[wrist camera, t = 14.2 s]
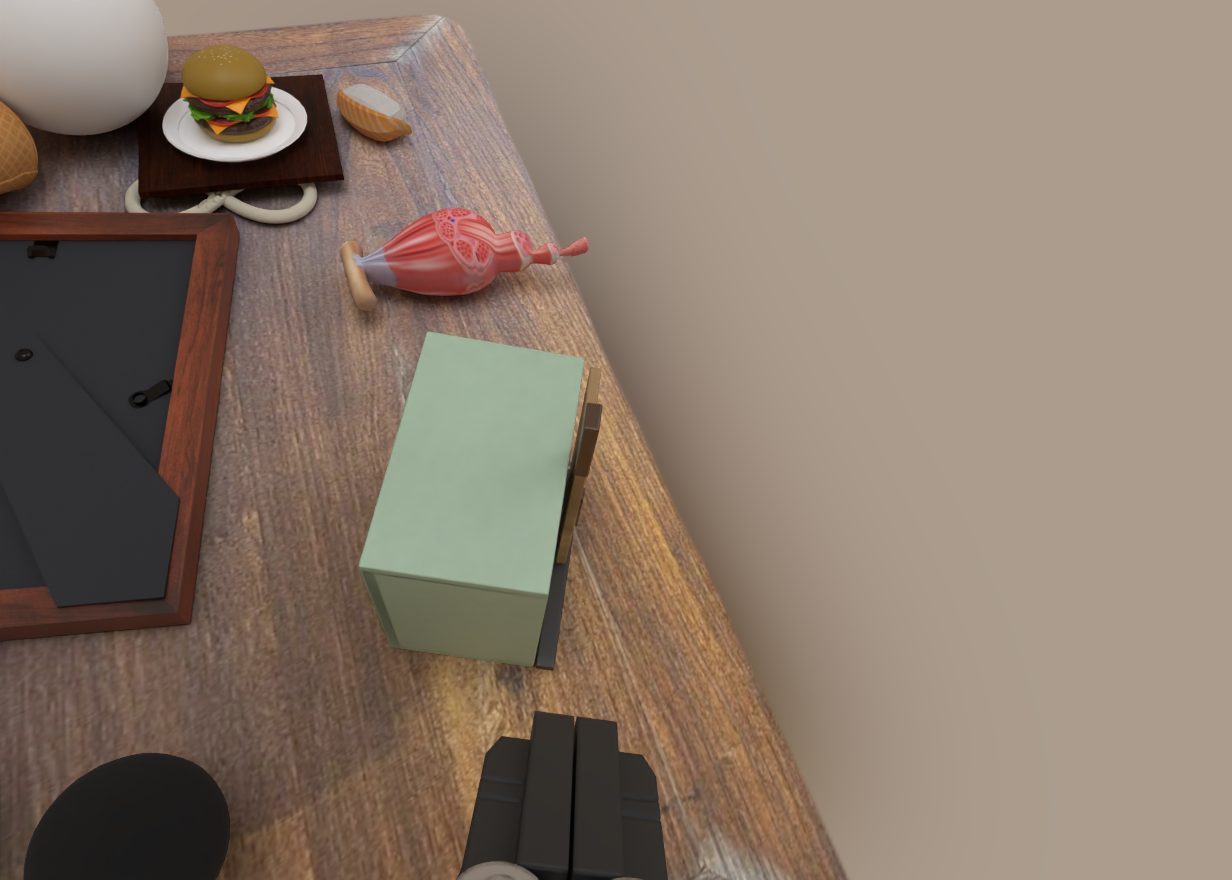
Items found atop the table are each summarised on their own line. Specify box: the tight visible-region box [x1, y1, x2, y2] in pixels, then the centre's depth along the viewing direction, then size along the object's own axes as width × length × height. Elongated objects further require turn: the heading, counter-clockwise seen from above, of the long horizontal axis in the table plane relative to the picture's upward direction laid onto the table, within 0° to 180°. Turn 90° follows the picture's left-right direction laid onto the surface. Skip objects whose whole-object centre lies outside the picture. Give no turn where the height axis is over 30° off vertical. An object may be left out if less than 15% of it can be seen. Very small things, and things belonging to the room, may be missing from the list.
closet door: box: [556, 367, 602, 564], centre depth 35 cm, size 1×6×14 cm, turn 174°
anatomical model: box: [340, 208, 589, 311], centre depth 47 cm, size 15×5×6 cm
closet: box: [358, 331, 585, 670], centre depth 36 cm, size 8×11×11 cm
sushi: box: [337, 84, 412, 141], centre depth 54 cm, size 3×6×3 cm
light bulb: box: [24, 753, 230, 880], centre depth 28 cm, size 6×6×10 cm
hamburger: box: [138, 45, 344, 199], centre depth 50 cm, size 12×12×6 cm
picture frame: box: [0, 212, 239, 641], centre depth 40 cm, size 20×2×25 cm
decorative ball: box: [0, 0, 168, 135], centre depth 47 cm, size 12×12×12 cm
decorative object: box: [125, 179, 317, 224], centre depth 49 cm, size 11×1×5 cm
